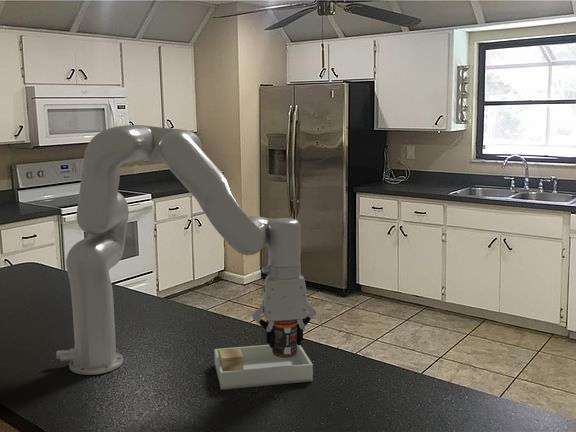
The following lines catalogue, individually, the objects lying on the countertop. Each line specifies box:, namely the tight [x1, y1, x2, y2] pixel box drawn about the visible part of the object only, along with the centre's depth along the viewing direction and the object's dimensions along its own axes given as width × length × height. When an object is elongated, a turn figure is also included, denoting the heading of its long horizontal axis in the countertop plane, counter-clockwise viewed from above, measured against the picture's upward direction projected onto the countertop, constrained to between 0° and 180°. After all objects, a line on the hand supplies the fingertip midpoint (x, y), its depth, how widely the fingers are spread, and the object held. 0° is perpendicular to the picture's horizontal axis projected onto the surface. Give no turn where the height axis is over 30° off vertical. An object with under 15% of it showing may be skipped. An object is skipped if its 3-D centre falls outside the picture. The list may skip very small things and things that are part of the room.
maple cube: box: [219, 348, 244, 372], centre depth 145 cm, size 5×5×5 cm
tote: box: [214, 344, 314, 391], centre depth 147 cm, size 21×14×4 cm
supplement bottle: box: [272, 320, 297, 358], centre depth 147 cm, size 6×6×11 cm
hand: (284, 343), depth 147 cm, fingers closed on supplement bottle, 6 cm apart
